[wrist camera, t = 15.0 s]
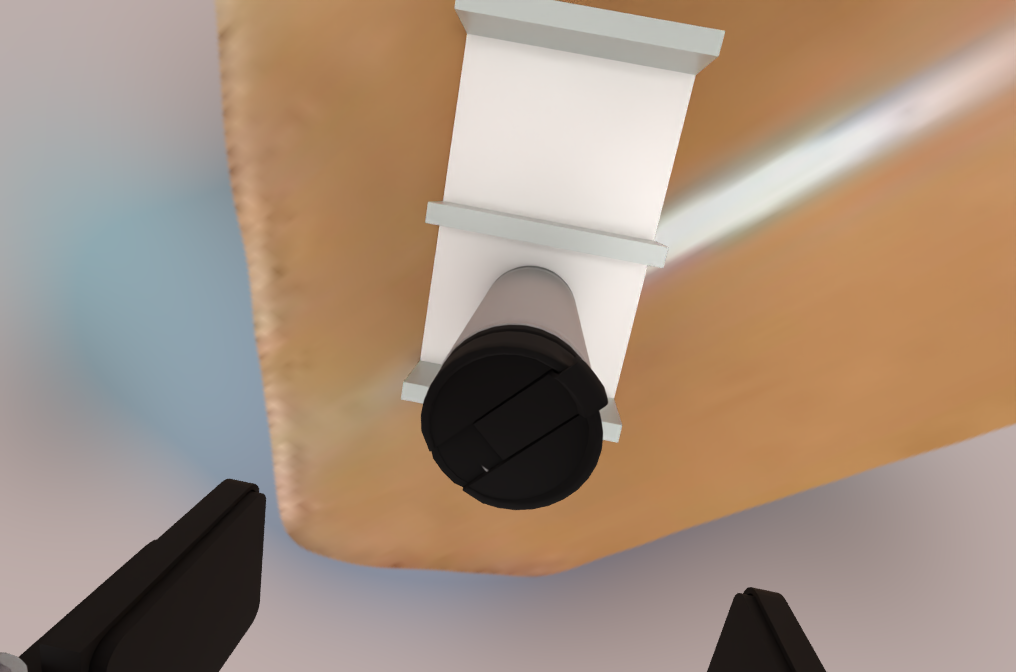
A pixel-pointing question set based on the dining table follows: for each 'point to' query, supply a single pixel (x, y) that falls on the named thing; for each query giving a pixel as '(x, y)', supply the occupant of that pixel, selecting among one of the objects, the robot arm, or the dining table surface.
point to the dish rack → (559, 167)
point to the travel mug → (518, 397)
